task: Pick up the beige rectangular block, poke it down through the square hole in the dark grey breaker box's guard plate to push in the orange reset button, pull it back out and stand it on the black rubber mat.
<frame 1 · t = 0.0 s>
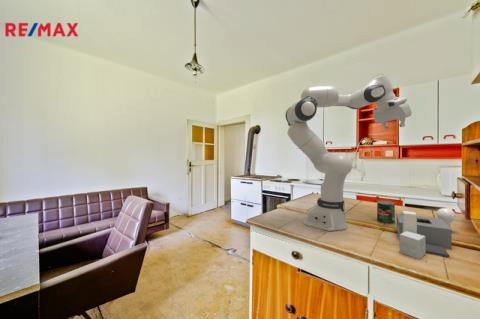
hand: (394, 127, 106), 52 cm above the counter, tool tilted 20°, fingers open, 8 cm apart
product box: (412, 254, 74), on the counter
lightbulb: (445, 231, 92), on the counter
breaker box: (420, 237, 86), on the counter
reset button: (420, 227, 86), point 5 cm above the counter, slide at 0.0 cm
canned tomato: (385, 222, 106), on the counter
beige rectangular block: (409, 245, 80), on the counter
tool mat: (433, 250, 75), on the counter
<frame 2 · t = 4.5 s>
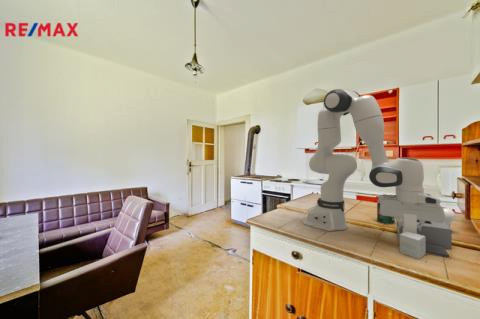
hand: (409, 228, 80), 7 cm above the counter, tool pointing down, fingers closed on beige rectangular block, 4 cm apart
beige rectangular block: (409, 245, 80), on the counter, touching gripper
everything else where it was.
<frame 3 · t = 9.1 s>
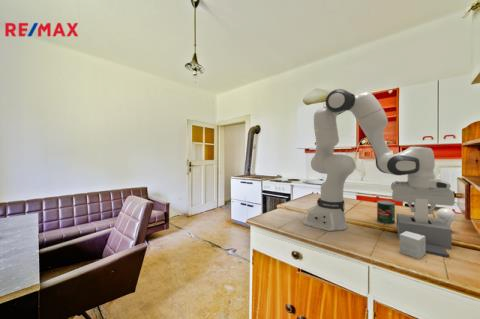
hand: (421, 212, 86), 12 cm above the counter, tool pointing down, fingers closed on beige rectangular block, 4 cm apart
reset button: (420, 230, 86), point 3 cm above the counter, slide at 1.6 cm
beige rectangular block: (421, 228, 86), point 4 cm above the counter, touching gripper
everything else where it was.
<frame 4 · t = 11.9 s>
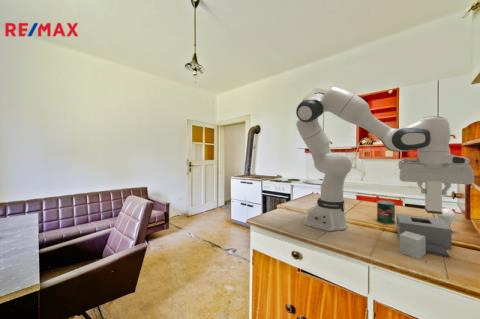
hand: (433, 194, 74), 23 cm above the counter, tool pointing down, fingers closed on beige rectangular block, 4 cm apart
beige rectangular block: (433, 212, 75), point 15 cm above the counter, touching gripper
everything else where it was.
when the fingers open (10 cm above the counter, at t = 14.6 s): beige rectangular block drops 1 cm, resting on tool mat.
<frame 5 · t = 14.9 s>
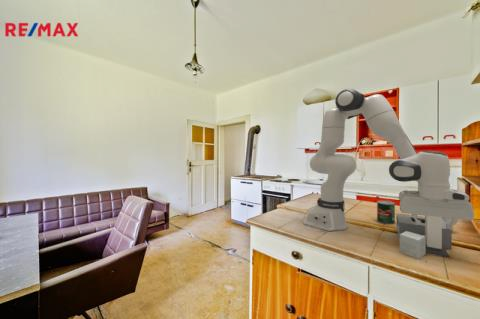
hand: (433, 227, 75), 10 cm above the counter, tool pointing down, fingers open, 7 cm apart
beige rectangular block: (433, 248, 76), point 1 cm above the counter, touching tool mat
everything else where it was.
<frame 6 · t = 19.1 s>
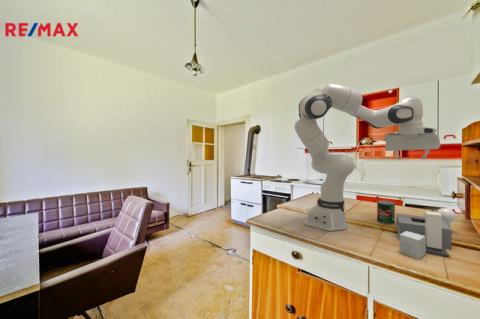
hand: (410, 159, 95), 35 cm above the counter, tool pointing down, fingers open, 8 cm apart
nothing on the counter moved.
at the end: reset button slide at 1.8 cm; beige rectangular block inside the target area (0.3 cm from its centre), point 1.0 cm above the counter; beige rectangular block tilted 0° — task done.
